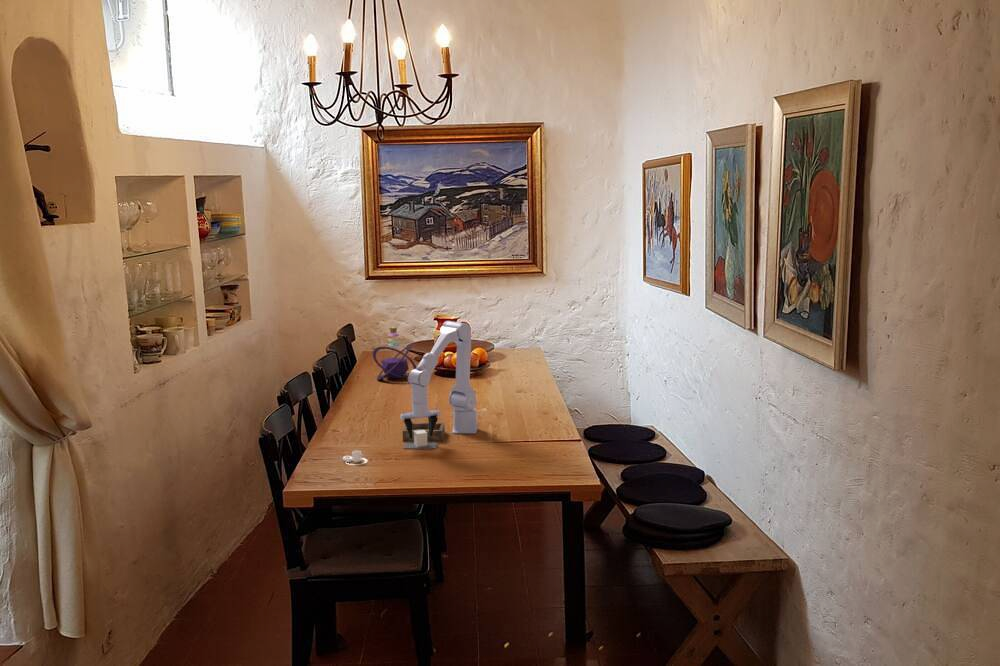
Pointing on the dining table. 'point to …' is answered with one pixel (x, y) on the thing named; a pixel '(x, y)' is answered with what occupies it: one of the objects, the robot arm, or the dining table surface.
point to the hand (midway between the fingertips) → (420, 436)
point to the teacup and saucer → (355, 458)
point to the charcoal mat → (429, 446)
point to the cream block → (420, 438)
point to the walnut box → (437, 432)
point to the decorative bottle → (394, 359)
